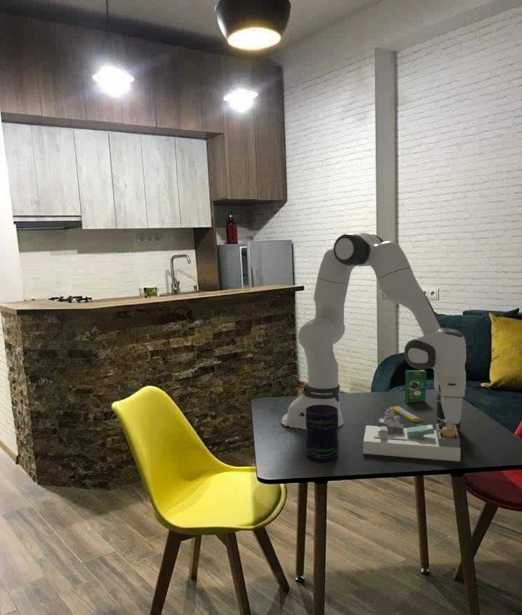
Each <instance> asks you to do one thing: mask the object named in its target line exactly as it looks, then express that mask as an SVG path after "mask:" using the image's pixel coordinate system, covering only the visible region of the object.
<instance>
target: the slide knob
mask: <svg viewBox="0 0 522 615" xmlns="http://www.w3.org/2000/svg"><path fill="white" fill-rule="evenodd" d="M381 439H387V427H385V426H381Z"/></svg>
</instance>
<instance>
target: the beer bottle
mask: <svg viewBox="0 0 522 615" xmlns="http://www.w3.org/2000/svg"><path fill="white" fill-rule="evenodd" d="M437 392H438V391H437ZM441 419H445V416H444V412H443V408H442V405H441V395H440V394H439V392H438V393H437V398H436V424H440V422H441ZM453 425H456V429H457V433H458V434H460V432H461V427H462V417H461V418H460V422H459V423H458V424H454V423H453Z"/></svg>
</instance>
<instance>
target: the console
mask: <svg viewBox="0 0 522 615" xmlns="http://www.w3.org/2000/svg"><path fill="white" fill-rule="evenodd" d="M389 421H392V422H393V420H389ZM417 426H424V425H423V424H417ZM417 426H416V427H417ZM407 428H408V427H404V430H403V433H400V432H396V431H393V426H390V425H388V429H387V439H381V427H378V425H366V426H365V431H364V436H363V443H362V444H363V447H362V448H363V452H362V453H363V454H365V455H378V456H390V457H401V458H403V457H404V458H414V459H426V460H439V461H452V462H461V439H460V436H459V433H457V429H456V425H453V428H455V438H454V439H453V438H443V437H442V429H441V428H440V424H437V423H435V429H434V434H428V435H423V431H418V436H412V437H408V436H407Z"/></svg>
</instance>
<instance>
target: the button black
mask: <svg viewBox="0 0 522 615" xmlns="http://www.w3.org/2000/svg"><path fill="white" fill-rule="evenodd" d="M443 427H446V419H441V422H440V428H441V429H442V428H443Z"/></svg>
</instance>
